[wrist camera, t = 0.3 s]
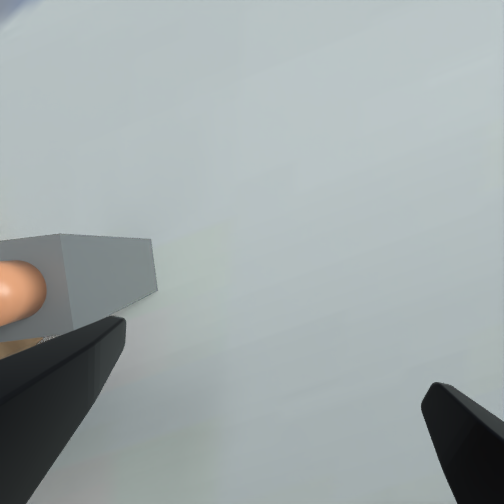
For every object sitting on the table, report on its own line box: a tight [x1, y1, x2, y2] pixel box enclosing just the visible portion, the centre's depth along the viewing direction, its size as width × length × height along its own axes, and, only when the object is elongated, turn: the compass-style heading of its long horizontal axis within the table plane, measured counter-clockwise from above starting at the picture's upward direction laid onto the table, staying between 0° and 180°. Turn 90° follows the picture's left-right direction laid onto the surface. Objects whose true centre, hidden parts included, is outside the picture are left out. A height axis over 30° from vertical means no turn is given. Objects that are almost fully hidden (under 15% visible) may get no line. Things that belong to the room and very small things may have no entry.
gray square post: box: [0, 234, 158, 342], centre depth 16 cm, size 4×4×13 cm
